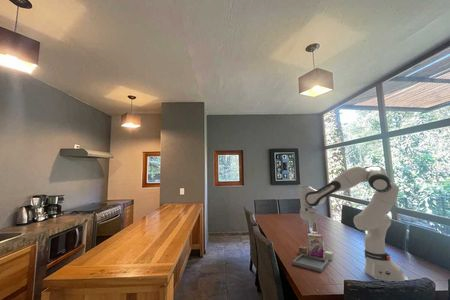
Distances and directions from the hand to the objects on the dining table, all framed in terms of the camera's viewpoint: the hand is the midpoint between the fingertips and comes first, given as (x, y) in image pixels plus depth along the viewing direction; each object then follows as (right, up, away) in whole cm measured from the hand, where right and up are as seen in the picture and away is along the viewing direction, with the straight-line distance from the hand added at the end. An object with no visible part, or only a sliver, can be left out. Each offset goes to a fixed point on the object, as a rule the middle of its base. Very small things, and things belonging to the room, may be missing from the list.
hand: (308, 226), depth 155 cm
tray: (+1, -27, -3) cm, 27 cm away
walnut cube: (+3, -29, +17) cm, 34 cm away
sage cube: (+18, -28, +5) cm, 33 cm away
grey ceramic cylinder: (+21, -30, +23) cm, 43 cm away
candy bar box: (+11, -29, +12) cm, 33 cm away
